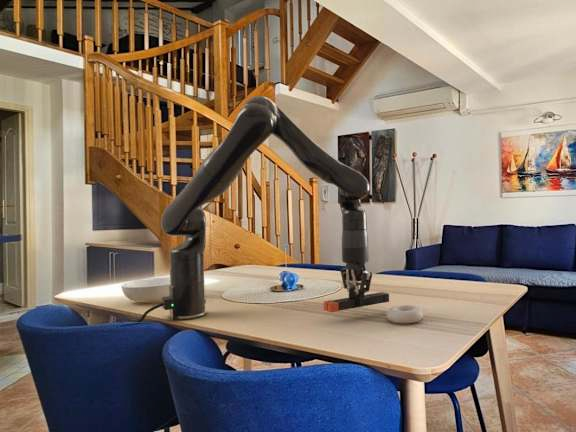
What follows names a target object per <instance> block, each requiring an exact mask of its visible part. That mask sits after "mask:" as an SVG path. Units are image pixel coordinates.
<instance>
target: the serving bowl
mask: <svg viewBox="0 0 576 432" xmlns="http://www.w3.org/2000/svg"><path fill="white" fill-rule="evenodd" d="M169 285H170V276H161V277H151V278H150V277H149V278H143V279H138V280H132V281H127V282H125V283H123V284H121V291H122V293H123V295H124V297H126V298H127V299H128V300H130V301H133V302H137V303H144V304H155V303H162V297H168V296H169Z"/></svg>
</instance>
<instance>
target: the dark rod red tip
mask: <svg viewBox="0 0 576 432" xmlns="http://www.w3.org/2000/svg"><path fill="white" fill-rule="evenodd" d="M389 302H390V293H387V292H383V291H381V292H374V293H369V294H364V306H363V307H366V306H367V307H368V306H372V305H378V304H383V303H384V304H385V303H389ZM355 308H356V309H357V308H358V307H357V306H356V296H355V297H349V296H348V297H344V298H338V299H330V300H324V301H323V311H325V312H328V313H336V312H341V311H345V310H350V309H351V310H352V309H355Z"/></svg>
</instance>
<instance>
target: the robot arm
mask: <svg viewBox="0 0 576 432" xmlns="http://www.w3.org/2000/svg"><path fill="white" fill-rule="evenodd" d="M229 129H230V130H229V131H228V132H227V135H226V136H225V138H224V139H223V141H221V143H220V144H219V145H217V146H216V147H215V148H214V149H213V150H212V151H210V153H208V154H207V156H206V157H205V159H204V160H203V161H202V163H201V164H200V166H199V167H198V168H197V170H196V172H195V173H194V174H193V176H192V178H191V179H190V180H189V181H188V183H187V184H186V185H185V186H184V188H183V189H182V190H181V191H180V192H179V193H178V194H177V196H175V198H174V199H173V200H172V201H171V202H170V203H169V204H168V205H167V207H165V209H164V211H163V213H162V215H161V219H160V227H161V230H162V232H163V233H164V234H166V235H167V236H171V237H184V239H183V241H182V242H181V243H180V244H179V245H177V246H176V247H173V248H172V249H170V250H169V256H168V257H169V277H170V285H169V296H168V297H162V302H160V303H159V304H156V305H154V306H152V307H150V308H148V309H147V310H145V312H144V313H143V314H142V316H141V317H140V318H139V319H137V320H135V321H134V320H133V322H139V323H141V322H142V321H143V320H144V319H145V318H146V317H147V315H148V314H149V313H151V312H153V311H155V310H156V309H158V308H161V307H162V309H163V310H164V311H169V317H170V319H172V320H173V321H177V320H191V319H197V318H200V317H203V316H205V315H206V303H207V301H206V294H205V292H206V290H205V261H204V260H205V259H204V257H205V256H204V255H205V254H204V253H205V249H206V244H207V243H206V241H207V239H206V237H207V218H206V213H205V211H204V209H203V207H202V206H203V205H206V204H208V203H210V202H211V201H213V200H215V199H217V198H219V197H220V196H221V195H223V194H225V192H226V191H227V190H229V188H230V187H231V185H232V184H233V183H234V182H235V181H236V179H237V178H238V177H239V175H240V174H241V172H242V169H243V168H244V166H245V164H246V163H247V161H248V159H249V158H250V156H251V155H252V154H253V153H255V151H256V150H257V149H258V148H259V147H261V145H262V144H263V143H264V142H266V140H268V139H269V137H271V136H274V137H276V138H277V139H278V140H280V141H281V143H283V144H284V145H286V147H287V148H288V150H290V151H291V152H292V153H293V155H294V156H295V158H296V159H297V160H298V161H299V162H300V164H301V165H302V166H303V167H304V168H305V169H307V170H308V171H309V172H311V173H312V174H313V175H314V176H316V177H317V178H319V179H320V180H321V181H323V182H325V183H327V184H331V185H334V186H336V187H337V198H338V203H339V207H340V208H339V209H340V211H341V212H340V213H341V229H342V231H341V261H342V263H345V267H344V268H340V275H341V276H340V277H341V280H342V284H343V288H344V289H346V291H347V292H348V298H349V297H355V296H356V306H357V308H363V307H365V306H364V295H365V294H366V293H368V292H369V291H370V288H371V283H372V278H373V273H372V272H371V271H367V268H366V267H367V266H366V263H368V261H370V260H369V258H370V257H369V234H368V220H367V219H368V217H367V212H366V210H365V209H363V207H362V203H361V200H363V199H365V198H366V197H367V196H369V194H370V191H371V186H370V183H369V181H368V179H367V178H366V177H365V176H364V175H363V174H362V173H361V172H359V171H357V170H355V169H354V168H352V167H350V166H348V165H346V164H344V163H342V162H340V161H339V159H337V158H335V156H333V155H332V154H330V153H329V152H328V151H327V150H325V149H324V148H323V147H321V146H320V145H319V144H317V143H316V142H315V141H314V140H313V139H311V138H310V137H309V136H308V135H307V134H306V133H305V132H304V131H303V130H301V129H300V127H299V126H298V125H297V124H296V123H295V122H294V121H292V120H291V118H289V116H287V114H286V113H285V112H284V111H283V110H282V109H281V108H280V107H279V105H277V104H276V103H275V102H274V101H273V100H271V99H270V98H268V97H266V96H263V95H254V96H252V97H250V98H248V100H247V101H246V102H245V103H244V104H243V106H242V108H241V109H240V110H239V111H238V114H237V115H236V118H235V119H234V122H233V124H232V126H231V127H230V128H229ZM123 322H124V321H120V322H119V323H123Z"/></svg>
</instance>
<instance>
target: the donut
mask: <svg viewBox="0 0 576 432" xmlns="http://www.w3.org/2000/svg"><path fill="white" fill-rule="evenodd" d="M423 316H424V312H423V310H422V309H421V308H420V307H419V306H416V305H412V304H411V305H409V304H401V305H395V306H392V307H389V308H388V309H387V311H386V318H387V319H388V321H389V322H391V323H394V324H401V325H407V324H414V323H418V322H419V321H421V320H422V319H423Z"/></svg>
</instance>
